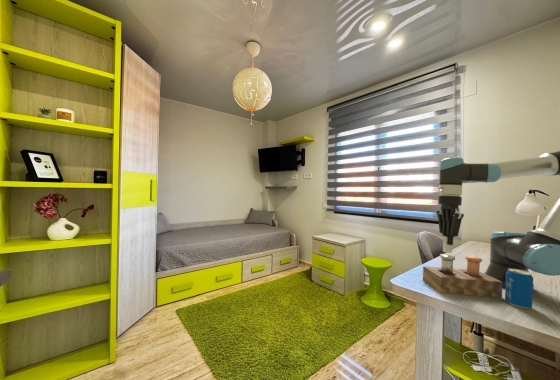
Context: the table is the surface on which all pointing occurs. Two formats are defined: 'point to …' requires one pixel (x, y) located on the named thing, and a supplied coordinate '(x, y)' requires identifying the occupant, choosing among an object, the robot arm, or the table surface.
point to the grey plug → (447, 264)
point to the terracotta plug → (473, 265)
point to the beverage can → (519, 288)
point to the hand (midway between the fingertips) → (447, 252)
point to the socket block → (462, 282)
